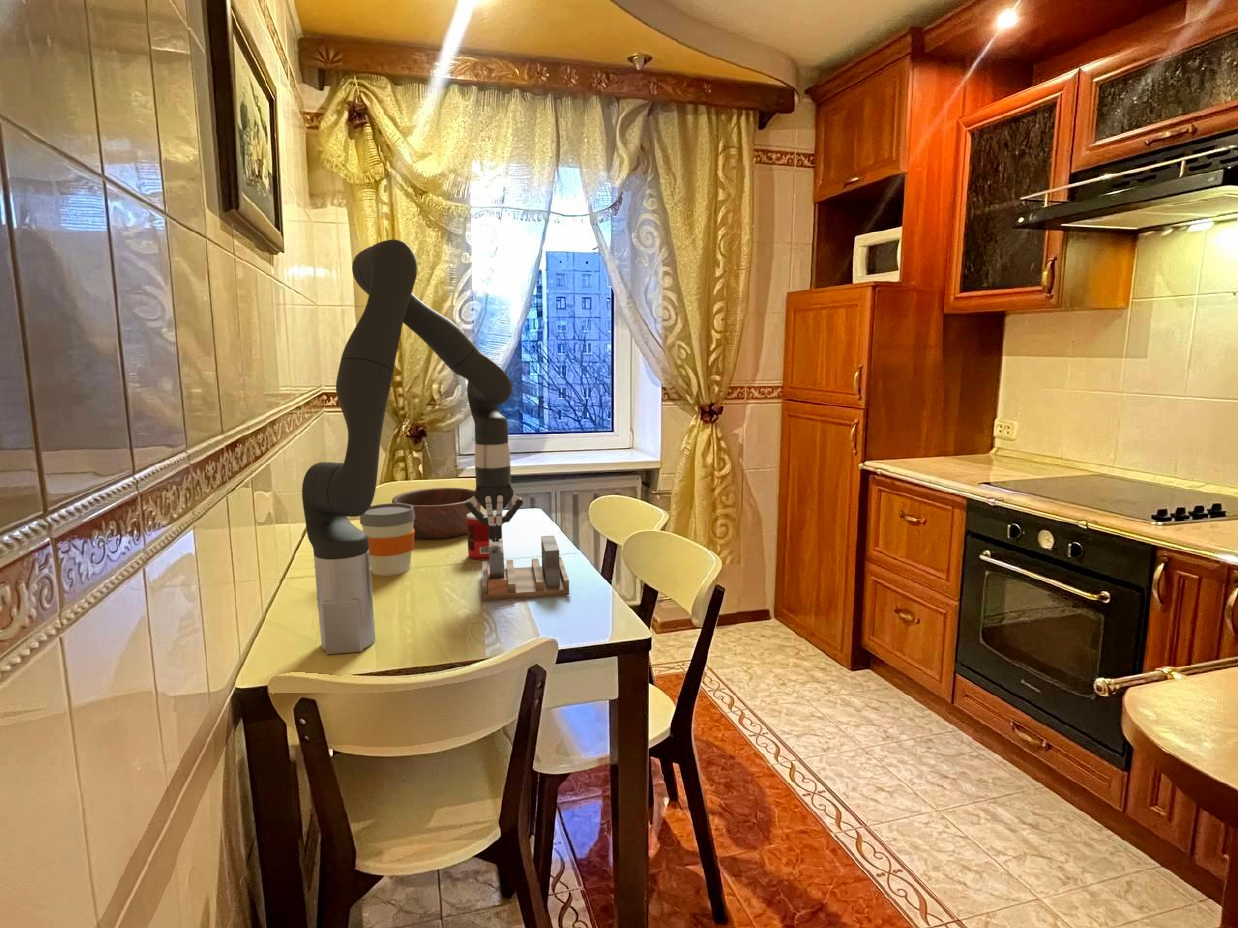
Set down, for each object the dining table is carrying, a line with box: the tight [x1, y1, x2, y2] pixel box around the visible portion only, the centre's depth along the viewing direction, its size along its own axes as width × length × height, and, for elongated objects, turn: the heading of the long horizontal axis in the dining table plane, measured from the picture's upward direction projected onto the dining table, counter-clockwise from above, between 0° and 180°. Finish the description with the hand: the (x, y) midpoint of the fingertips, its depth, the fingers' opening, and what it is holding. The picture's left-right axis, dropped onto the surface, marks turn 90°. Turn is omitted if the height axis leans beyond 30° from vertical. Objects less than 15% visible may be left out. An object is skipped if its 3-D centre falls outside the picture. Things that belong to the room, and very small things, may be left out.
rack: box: [481, 535, 570, 603], centre depth 160 cm, size 17×18×10 cm
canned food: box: [466, 509, 496, 561], centre depth 182 cm, size 8×8×11 cm
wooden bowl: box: [391, 487, 482, 540], centre depth 207 cm, size 25×25×10 cm
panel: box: [488, 538, 505, 579], centre depth 159 cm, size 12×3×8 cm, turn 10°
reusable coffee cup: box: [359, 502, 415, 577], centre depth 172 cm, size 13×13×15 cm
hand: (495, 541), depth 158 cm, fingers closed
